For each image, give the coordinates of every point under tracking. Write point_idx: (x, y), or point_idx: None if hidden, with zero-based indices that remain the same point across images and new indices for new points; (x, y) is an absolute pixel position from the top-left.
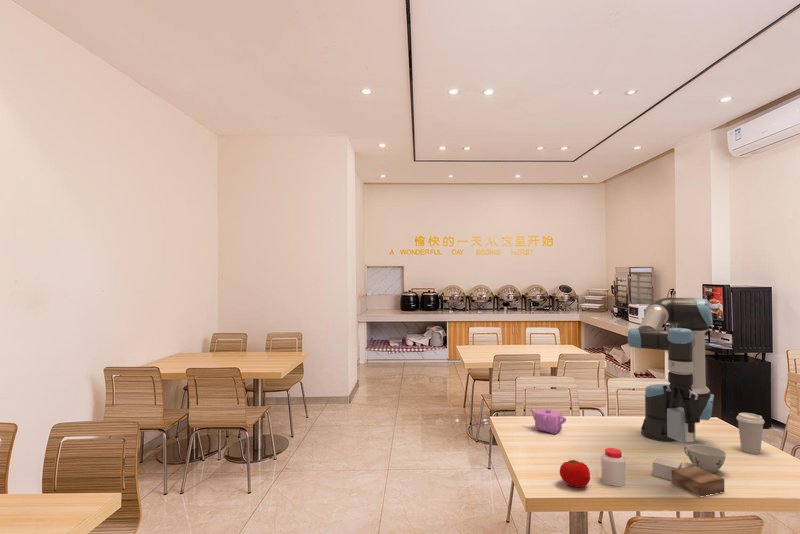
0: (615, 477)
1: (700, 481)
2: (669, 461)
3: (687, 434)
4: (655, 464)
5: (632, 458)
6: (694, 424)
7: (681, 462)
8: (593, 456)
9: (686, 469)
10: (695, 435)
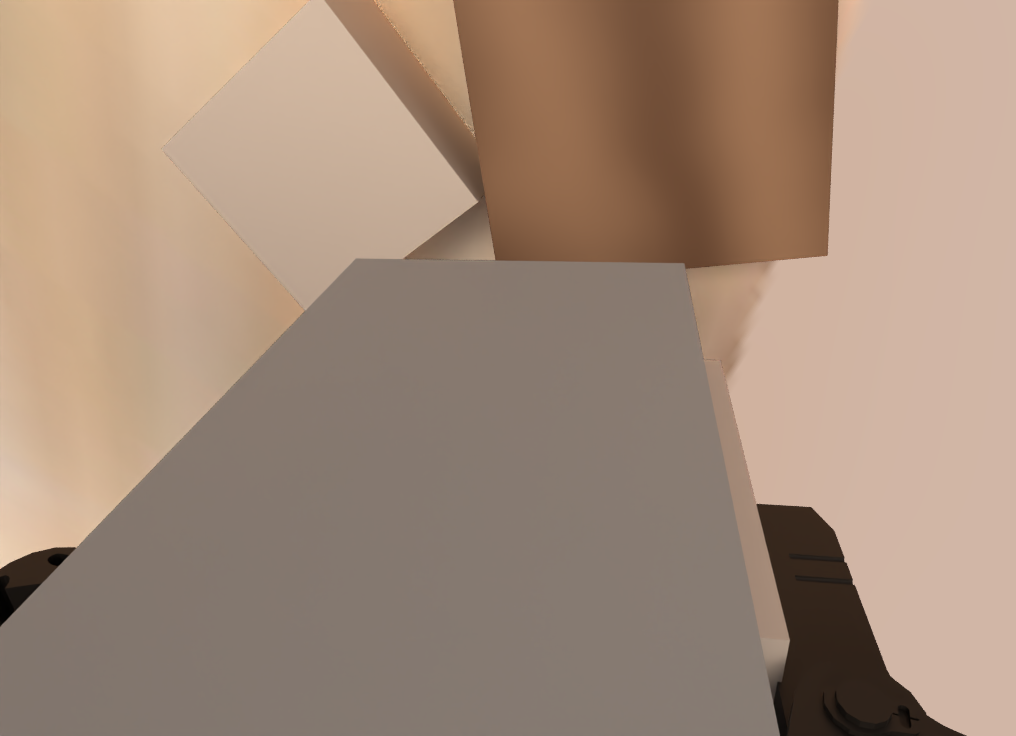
0: None
1: (796, 227)
2: (307, 141)
3: None
4: None
5: (17, 188)
6: (716, 471)
7: (334, 11)
8: (21, 451)
9: (515, 121)
10: (692, 305)
